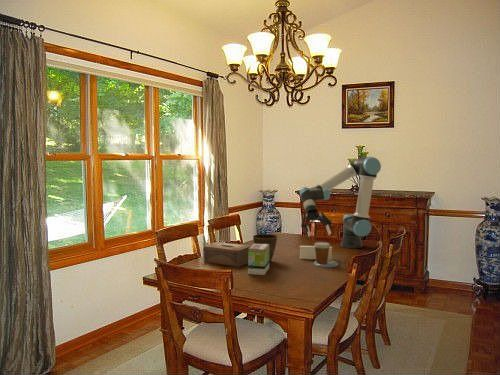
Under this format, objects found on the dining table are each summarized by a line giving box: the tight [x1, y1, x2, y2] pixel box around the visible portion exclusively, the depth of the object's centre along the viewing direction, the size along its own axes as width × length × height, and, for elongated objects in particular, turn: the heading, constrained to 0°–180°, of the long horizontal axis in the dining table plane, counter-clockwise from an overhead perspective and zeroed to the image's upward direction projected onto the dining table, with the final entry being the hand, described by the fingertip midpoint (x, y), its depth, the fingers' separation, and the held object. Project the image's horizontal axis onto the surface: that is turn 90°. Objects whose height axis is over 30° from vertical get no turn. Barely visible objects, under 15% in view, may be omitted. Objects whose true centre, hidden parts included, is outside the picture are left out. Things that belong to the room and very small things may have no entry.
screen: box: [299, 245, 333, 261], centre depth 271 cm, size 20×2×8 cm, turn 80°
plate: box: [313, 259, 340, 268], centre depth 259 cm, size 15×15×1 cm
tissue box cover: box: [203, 241, 252, 268], centre depth 267 cm, size 26×14×10 cm, turn 59°
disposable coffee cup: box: [313, 241, 331, 264], centre depth 258 cm, size 10×10×12 cm
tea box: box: [247, 243, 270, 276], centre depth 244 cm, size 15×10×15 cm, turn 168°
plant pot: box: [252, 233, 278, 263], centre depth 266 cm, size 15×15×16 cm
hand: (320, 234), depth 267 cm, fingers open, 13 cm apart
